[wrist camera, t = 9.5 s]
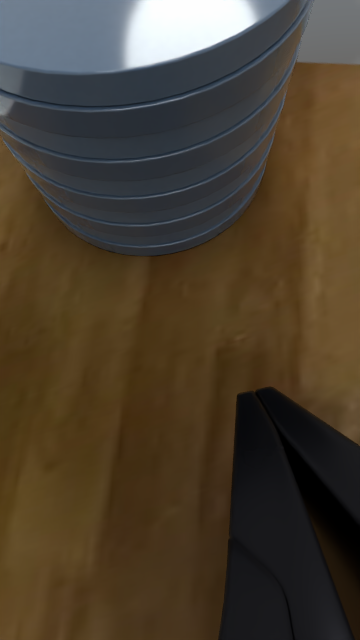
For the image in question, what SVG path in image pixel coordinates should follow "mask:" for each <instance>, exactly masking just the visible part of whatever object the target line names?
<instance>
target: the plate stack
mask: <svg viewBox="0 0 360 640" xmlns="http://www.w3.org/2000/svg"><path fill="white" fill-rule="evenodd" d="M313 3H314V0H0V136H1V137H2V139H3V141H4V143H5V145H6V146H7V148H8V149H9V150H10V152H11V153H12V155H13V156H14V158H15V159H16V160H17V162H18V163H19V164H20V166H21V167H22V168H23V169H24V171H25V172H26V174H27V176H28V177H29V179H30V180H31V182H32V183H33V185H34V186H35V187H36V189H37V190H38V191H39V193H40V194H41V195H42V197H43V198H44V200H45V202H46V203H47V205H48V206H49V207H50V209H51V210H52V212H53V213H54V214H55V216H56V217H57V218H58V220H59V221H60V222H61V223H62V224H63V225H64V226H65V227H66V228H67V229H68V230H69V231H71V232H72V233H74V234H75V235H76V236H78V237H79V238H81V239H82V240H84V241H86V242H88V243H90V244H92V245H94V246H97V247H99V248H102V249H105V250H108V251H111V252H116V253H120V254H126V255H136V256H157V255H164V254H171V253H175V252H179V251H183V250H187V249H190V248H192V247H195V246H197V245H200V244H203V243H204V242H206V241H208V240H210V239H212V238H214V237H216V236H217V235H219V234H220V233H221V232H223V231H224V230H226V229H227V228H228V227H230V226H231V225H232V224H233V223H234V222H235V221H236V220H237V219H238V218H239V217H240V216H241V215H242V214H243V213H244V212H245V210H246V209H247V208H248V207H249V205H250V204H251V202H252V200H253V199H254V197H255V195H256V194H257V191H258V189H259V186H260V184H261V181H262V178H263V175H264V171H265V167H266V163H267V159H268V157H269V154H270V150H271V147H272V144H273V140H274V135H275V131H276V128H277V125H278V123H279V119H280V116H281V113H282V109H283V106H284V101H285V97H286V93H287V88H288V86H289V84H290V81H291V78H292V75H293V71H294V68H295V64H296V61H297V57H298V53H299V49H300V44H301V37H302V35H303V33H304V30H305V28H306V26H307V23H308V20H309V16H310V13H311V9H312V6H313Z"/></svg>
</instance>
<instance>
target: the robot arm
mask: <svg viewBox="0 0 360 640" xmlns="http://www.w3.org/2000/svg"><path fill="white" fill-rule="evenodd" d="M229 537H230V538H229V540H228V555H227V570H226V581H225V592H224V603H223V610H222V617H221V624H220V631H219V638H218V640H360V446H359V445H358V444H356V443H355V442H353V441H352V440H350V439H349V438H347V437H346V436H344V435H343V434H341V433H340V432H339V431H337V430H336V429H334V428H333V427H331V426H330V425H328V424H327V423H325V422H324V421H322V420H321V419H319V418H318V417H316V416H315V415H313V414H312V413H310V412H309V411H308V410H306V409H305V408H303V407H302V406H300V405H299V404H297V403H296V402H294V401H293V400H291V399H290V398H288V397H287V396H285V395H284V394H282V393H281V392H279V391H278V390H277V389H275V388H273V387H265V388H261V389H257V390H256V391H255V392H254V391H247V392H242V393H239V394H238V395H237V402H236V419H235V437H234V454H233V472H232V489H231V507H230V525H229Z"/></svg>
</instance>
